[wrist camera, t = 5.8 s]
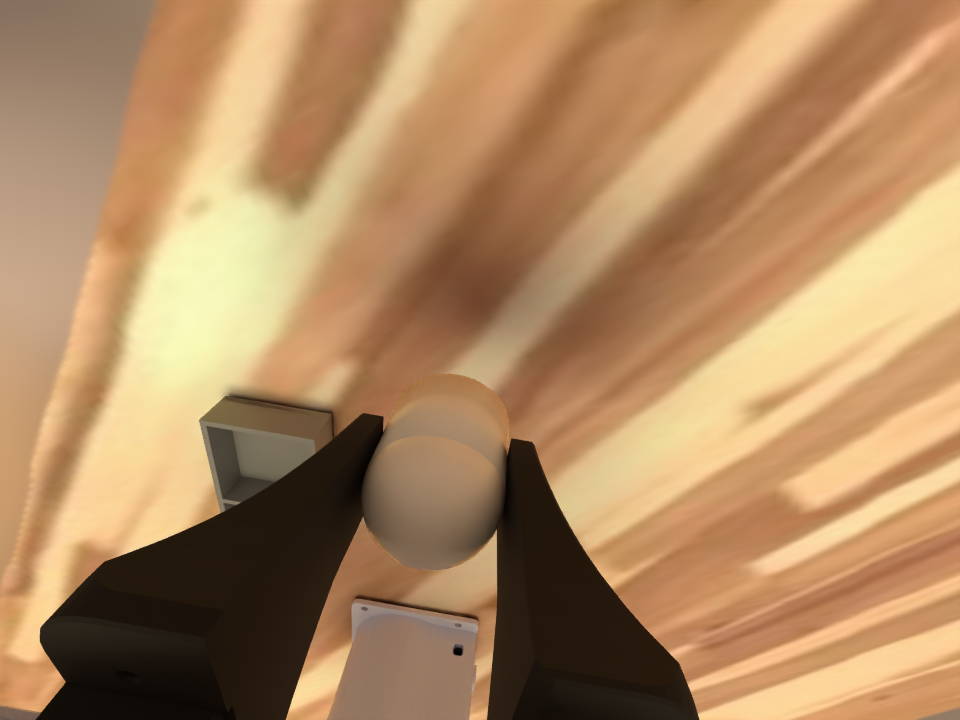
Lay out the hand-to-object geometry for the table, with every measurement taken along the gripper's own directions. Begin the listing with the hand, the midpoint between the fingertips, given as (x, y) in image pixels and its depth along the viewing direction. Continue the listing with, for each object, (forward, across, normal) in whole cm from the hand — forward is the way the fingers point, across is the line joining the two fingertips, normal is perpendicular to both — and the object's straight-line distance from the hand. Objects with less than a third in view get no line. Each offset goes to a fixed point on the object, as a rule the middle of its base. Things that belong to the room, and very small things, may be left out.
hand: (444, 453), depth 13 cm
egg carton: (+8, +10, +12) cm, 18 cm away
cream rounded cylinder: (+2, 0, 0) cm, 2 cm away
